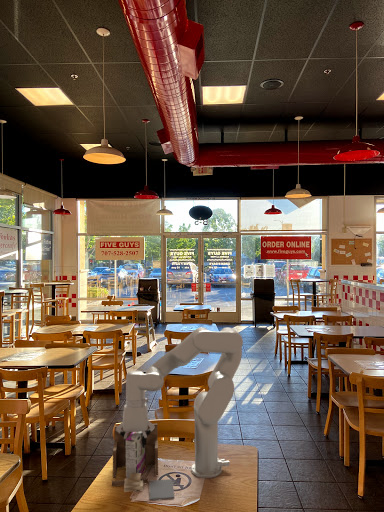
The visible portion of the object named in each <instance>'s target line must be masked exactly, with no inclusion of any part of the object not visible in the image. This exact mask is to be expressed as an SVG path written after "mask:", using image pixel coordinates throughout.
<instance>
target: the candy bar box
mask: <svg viewBox="0 0 384 512" xmlns="http://www.w3.org/2000/svg"><path fill="white" fill-rule="evenodd" d="M125 445H126V446H125V447H126V467H125V478H129V477H130V474H131V473H141V476H142V475H143V474H144V472H145V470H146V467H147V466H146V460H145V448H143V433H142V431H140V432H132V433H131V434H130V435H129V437H128V438H127V439H126V440H125Z"/></svg>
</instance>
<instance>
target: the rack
mask: <svg viewBox="0 0 384 512" xmlns="http://www.w3.org/2000/svg"><path fill="white" fill-rule="evenodd" d="M152 424H153V425H154V426H155V428H154V430H153V431H151V433H150V434H149V435H148V436H147V438H146V445H145V460H146V467H148V466H154V476H155V477H156V475H158V476H159V441H158V423H152ZM118 426H119V425H114V442H113V448H112V479H114V480H111V487H116V486H117V487H118V486H124V483H125V479H119V480H118V479H117V473H118V468H126V447H125V439H124V437H123V436H121V435H120V433H119V432H117V431H116V428H117V427H118ZM149 428H150V427H149V426H148V429H149ZM148 429H147V430H148ZM121 430H123V427H122V428H121ZM147 430H146V431H147ZM124 432H125V431H124ZM131 433H132V432H129V433H128V437H129V435H130V434H131ZM115 479H117V480H115ZM140 481H143V485H145V483H148V484H149V478H148V477H146V478H141V479H140Z"/></svg>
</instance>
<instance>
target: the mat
mask: <svg viewBox="0 0 384 512" xmlns="http://www.w3.org/2000/svg"><path fill="white" fill-rule="evenodd" d="M148 484H149V487H148V488H149V489H150V490H149V501H158V500H159V499H162V500H173V499H175V491H174V490H175V488H174V482H173V479H172V478H170V479H156V480H155V479H154V480H148ZM159 501H160V500H159Z"/></svg>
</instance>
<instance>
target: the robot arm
mask: <svg viewBox="0 0 384 512" xmlns="http://www.w3.org/2000/svg"><path fill="white" fill-rule="evenodd" d="M243 342H244V340H243V337H242V335H241V334H240V333H239V332H238V331H237V330H235V329H234V328H232V327H228V326H227V327H223V328H221V330H220V331H217V330H216V331H214V330H213V331H211V330H210V329H207V328H206V327H202V326H201V327H197V328H196V329H195V330H193V331H192V332H191V333H190V334H189V335H187V336H186V337H185V338H184V339H183V340H182V341H181V342H179V344H177V345H176V346H175V347H174V348H172V349H171V350H169V351H168V352H167V353H165V354H164V355H163V356H161V357H159V359H157V360H156V361H155V362H154V363H152V365H151V366H149V368H148V369H146V371H145V373H144V371H142V370H131V371H128V372H127V373H126V377H125V394H126V395H125V396H126V397H125V398H126V399H125V404H124V407H123V412H122V413H123V414H122V422H121V423H120V424H119V425H117V426H118V427H117V428H116V431H117V432H119V433H120V435H121V436H123V437H124V439H125V440H126V439H127V438H128V433H129V432H140V431H142V433H143V448H145V445H146V438H147V436H148V435H149V434H150V433H151V431H153V430H154V428H155V426H154V425H153V424H154V423H152V422H151V421H150V420H149V414H148V406H147V403H149V398H146V396H145V395H146V394H145V393H146V392H147V391H148V392H157V391H160V390H162V388H163V386H164V382H165V381H164V378H165V377H167V375H169V374H170V373H171V372H172V371H173V370H175V369H177V368H179V367H184V366H187V365H188V364H189V363H191V362H192V361H193V360H194V359H195V358H196V357H198V356H199V354H200V353H213V354H218V353H219V354H221V355H220V356H219V360H218V361H217V363H216V365H215V366H214V368H213V370H212V372H211V373H210V374H209V377H208V379H207V385H208V388H209V389H208V391H202V392H199V393H198V394H197V395H196V397H195V399H194V402H193V413H194V414H193V415H194V416H193V417H194V463H193V464H192V465H191V468H190V470H191V473H192V474H193V475H195V476H196V477H199V478H202V479H213V478H215V477H218V476H219V475H221V474H222V471H223V470H222V469H223V467H230V461H229V460H226V459H225V458H221V459H220V458H219V445H218V443H219V442H218V441H219V439H218V438H219V435H218V434H219V433H218V432H219V431H218V430H219V424H218V422H219V421H220V419H221V418H222V416H223V415H224V413H225V412H226V410H227V408H228V406H229V405H230V402H231V400H232V398H233V397H234V393H235V383H234V381H233V380H234V379H233V378H234V377H235V375H236V373H237V370H238V368H239V366H240V364H241V361H242V356H243V348H242V347H243V344H244V343H243ZM148 426H149V427H150V428H149V429H148ZM122 427H123V430H121V428H122ZM147 429H148V430H147ZM146 430H147V431H146ZM124 431H125V432H124ZM125 446H126V445H125Z"/></svg>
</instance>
